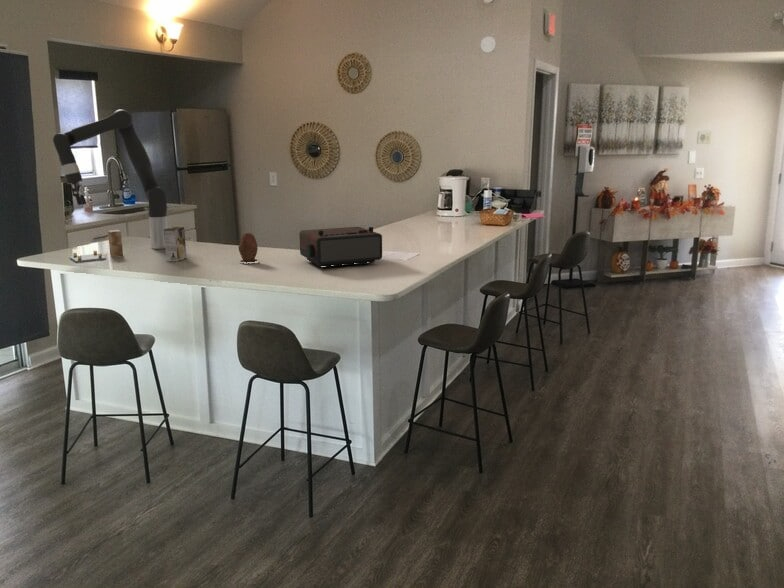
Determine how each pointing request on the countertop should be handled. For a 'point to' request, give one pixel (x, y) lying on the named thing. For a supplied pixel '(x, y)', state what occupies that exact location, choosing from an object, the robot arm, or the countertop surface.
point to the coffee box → (175, 243)
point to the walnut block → (115, 243)
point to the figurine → (248, 248)
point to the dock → (87, 257)
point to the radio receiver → (341, 245)
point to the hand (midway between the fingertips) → (82, 204)
